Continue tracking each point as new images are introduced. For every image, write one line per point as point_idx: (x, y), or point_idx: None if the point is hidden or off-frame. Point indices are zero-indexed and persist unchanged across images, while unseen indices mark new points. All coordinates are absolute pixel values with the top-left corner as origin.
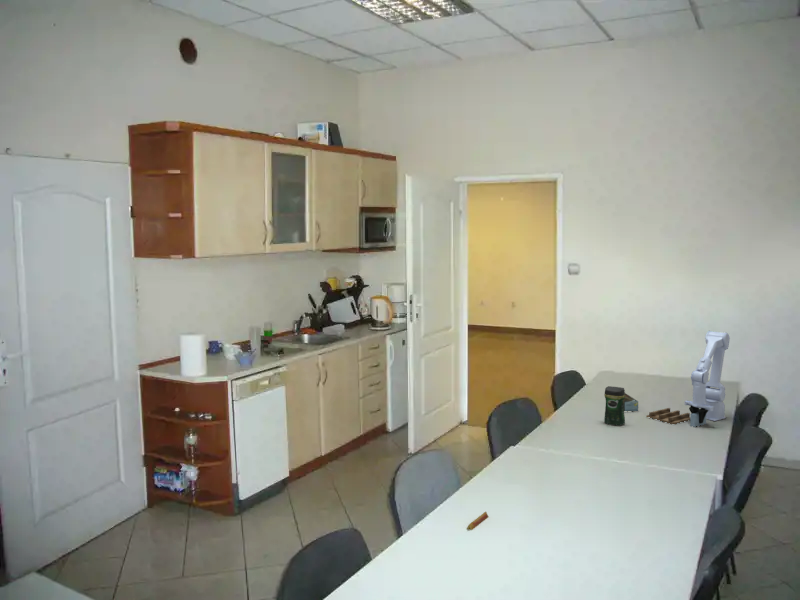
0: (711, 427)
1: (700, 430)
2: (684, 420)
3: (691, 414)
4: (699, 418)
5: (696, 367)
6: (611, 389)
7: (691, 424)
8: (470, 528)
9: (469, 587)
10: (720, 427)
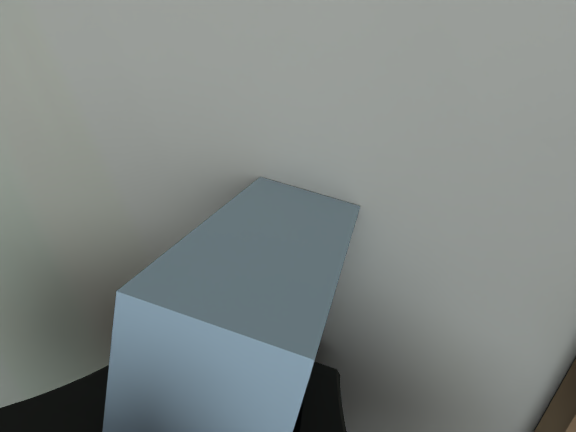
0: (75, 323)
1: (95, 31)
2: (558, 430)
3: (273, 340)
4: None
5: None
6: None
7: (326, 210)
8: None
9: None
10: (7, 383)
